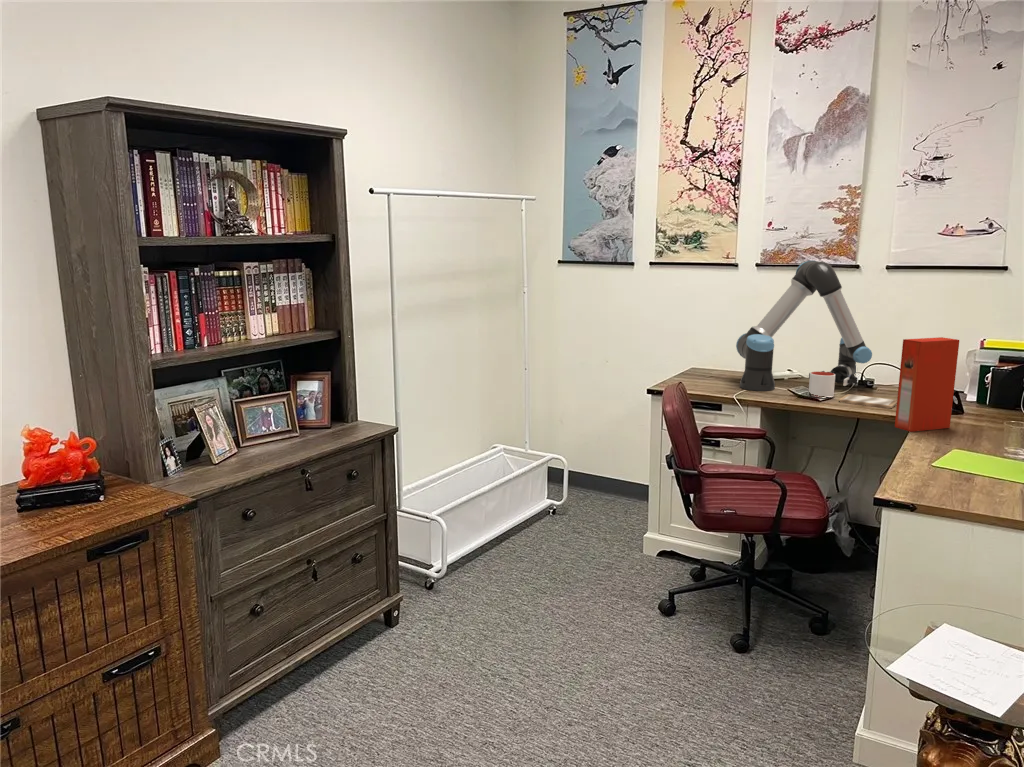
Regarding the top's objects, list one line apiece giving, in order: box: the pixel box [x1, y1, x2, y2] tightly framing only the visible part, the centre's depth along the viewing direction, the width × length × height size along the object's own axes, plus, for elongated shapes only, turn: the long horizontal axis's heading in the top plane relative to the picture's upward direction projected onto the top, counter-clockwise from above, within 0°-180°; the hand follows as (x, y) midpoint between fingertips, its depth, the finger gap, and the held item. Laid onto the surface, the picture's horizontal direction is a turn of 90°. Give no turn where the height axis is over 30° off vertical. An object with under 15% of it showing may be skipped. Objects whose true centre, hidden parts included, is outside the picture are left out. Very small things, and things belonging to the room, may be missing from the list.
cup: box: [808, 371, 836, 397], centre depth 323 cm, size 10×10×10 cm
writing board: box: [838, 393, 897, 409], centre depth 312 cm, size 20×14×1 cm
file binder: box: [894, 336, 960, 433], centre depth 269 cm, size 8×17×32 cm, turn 109°
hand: (827, 380), depth 327 cm, fingers open, 13 cm apart
